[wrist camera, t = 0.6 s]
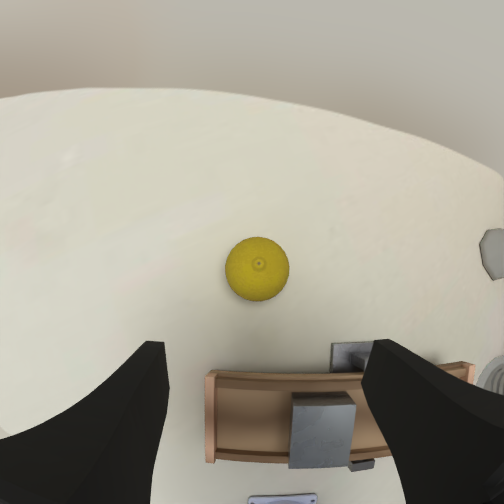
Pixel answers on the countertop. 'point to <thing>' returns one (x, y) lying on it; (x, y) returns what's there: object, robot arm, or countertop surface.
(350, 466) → the pivot stand
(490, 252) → the flask
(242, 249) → the lemon
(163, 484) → the countertop surface
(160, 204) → the countertop surface
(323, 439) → the steel block
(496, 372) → the french press
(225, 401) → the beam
